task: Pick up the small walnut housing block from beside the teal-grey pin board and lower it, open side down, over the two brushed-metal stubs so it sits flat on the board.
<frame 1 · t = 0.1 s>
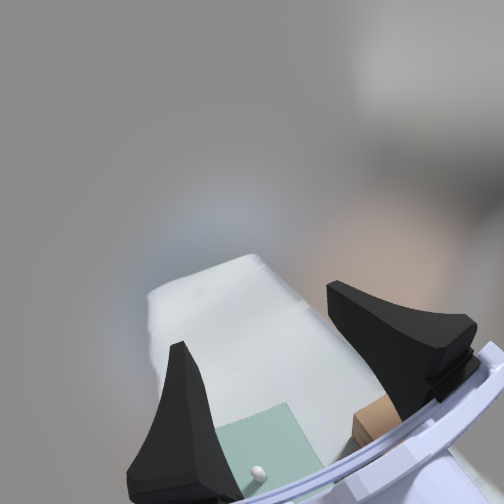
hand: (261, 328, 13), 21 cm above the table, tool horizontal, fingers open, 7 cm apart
pin board: (269, 493, 21), on the table
housing: (392, 450, 22), on the table
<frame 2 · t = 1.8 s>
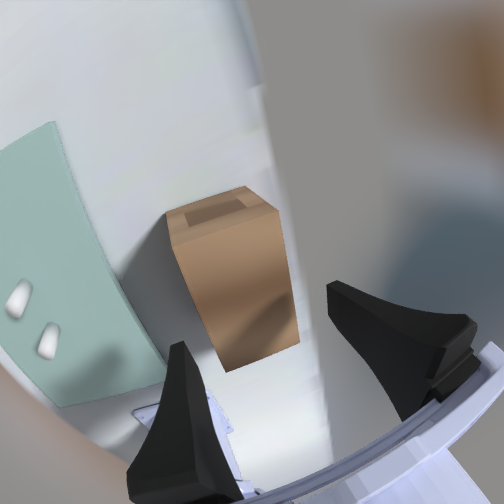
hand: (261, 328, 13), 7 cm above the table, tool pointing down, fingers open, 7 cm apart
pin board: (42, 300, 16), on the table
housing: (224, 261, 19), on the table
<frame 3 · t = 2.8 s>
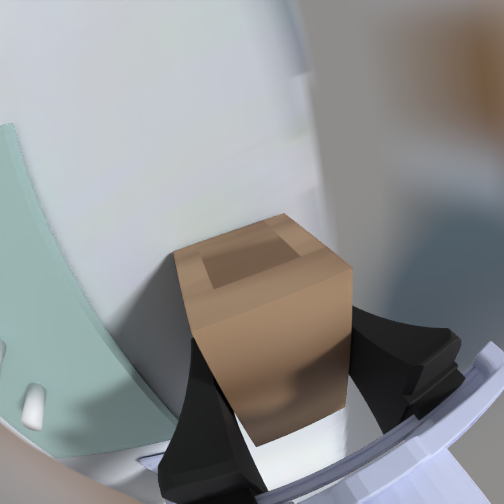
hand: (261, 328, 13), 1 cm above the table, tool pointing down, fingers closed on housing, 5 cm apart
pin board: (21, 355, 11), on the table
housing: (251, 310, 14), on the table, touching gripper
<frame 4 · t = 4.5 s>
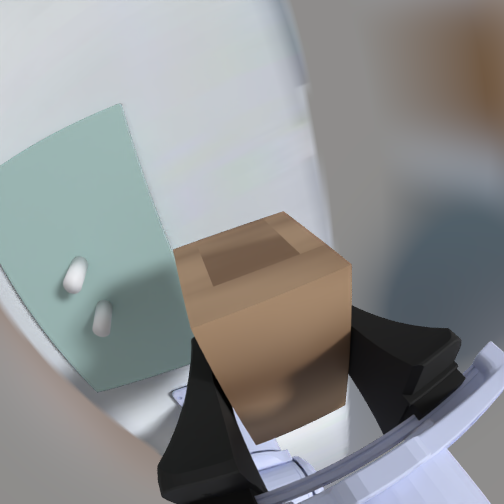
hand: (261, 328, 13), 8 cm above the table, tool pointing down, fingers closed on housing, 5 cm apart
pin board: (94, 278, 18), on the table
housing: (251, 308, 14), point 7 cm above the table, touching gripper
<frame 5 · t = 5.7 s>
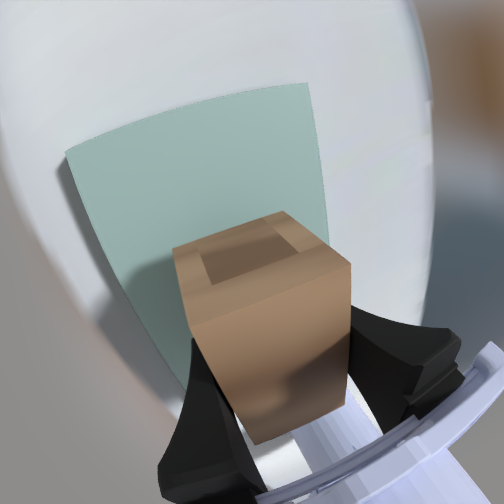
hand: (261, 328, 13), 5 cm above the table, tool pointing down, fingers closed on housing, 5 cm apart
pin board: (233, 277, 17), on the table
housing: (250, 308, 14), point 3 cm above the table, touching gripper
when the fingers open (4 cm above the table, at t = 6.4 s): housing drops 1 cm, resting on pin board.
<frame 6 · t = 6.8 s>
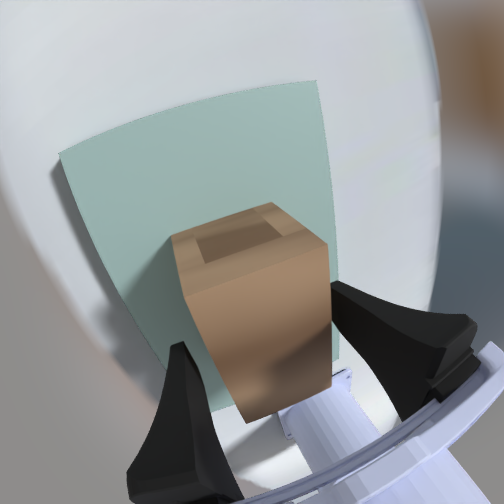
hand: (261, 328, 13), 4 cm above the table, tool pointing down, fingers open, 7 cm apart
pin board: (237, 284, 16), on the table
housing: (242, 292, 16), point 1 cm above the table, touching pin board
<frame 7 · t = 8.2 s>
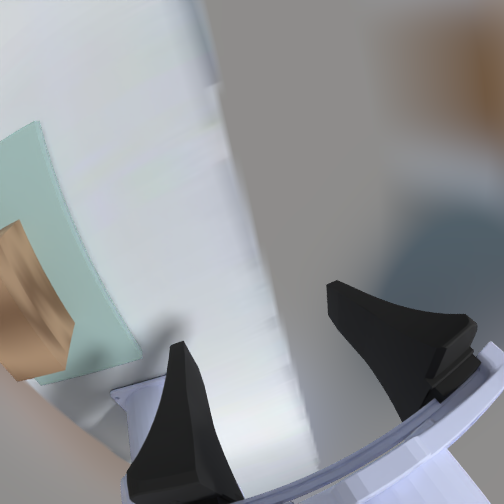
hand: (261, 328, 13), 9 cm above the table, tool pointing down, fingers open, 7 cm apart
pin board: (27, 279, 17), on the table
housing: (22, 285, 16), point 1 cm above the table, touching pin board
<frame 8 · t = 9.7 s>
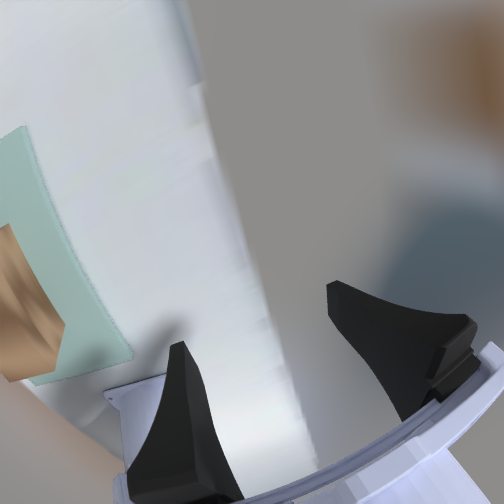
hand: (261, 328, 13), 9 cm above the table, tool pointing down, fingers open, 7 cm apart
pin board: (18, 282, 17), on the table
housing: (14, 287, 16), point 1 cm above the table, touching pin board
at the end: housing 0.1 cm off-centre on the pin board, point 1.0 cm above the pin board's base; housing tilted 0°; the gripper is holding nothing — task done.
